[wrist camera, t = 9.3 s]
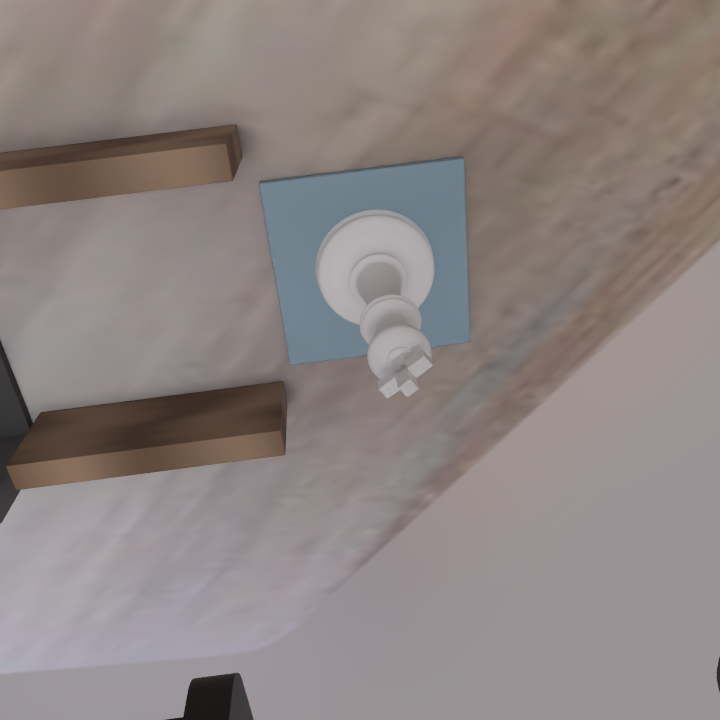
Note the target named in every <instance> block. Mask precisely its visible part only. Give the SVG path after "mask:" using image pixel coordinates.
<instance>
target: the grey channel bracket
mask: <svg viewBox="0 0 720 720" xmlns="http://www.w3.org/2000/svg"><path fill="white" fill-rule="evenodd" d="M32 425H33V423H32V421H31V418H30V416H29V413H28V411H27V408H26V406H25V403H24V400H23V398H22V395H21V393H20V390H19V388H18V385H17V383H16V380H15V378H14V375H13V373H12V370H11V368H10V365H9V363H8V360H7V358H6V355H5V353H4V350H3V348H2V345H1V342H0V524H1V523H2V521H3V519H4V518H5V516H6V514H7V512H8V511H9V509H10V507H11V506H12V504H13V502H14V500H15V499H16V497H17V495H18V493H19V492H20V490H16V489H15V486H14V484H13V482H12V479H11V477H10V475H9V473H8V470H7V468H6V465H7V464H8V462H9V461H10V459H11V458H12V456H13V454H14V453H15V451H16V450H17V448H18V447H19V445H20V444H21V442H22V440H23V439H24V437H25V436H26V434H27V433H28V431H29V430H30V428H31V426H32Z"/></svg>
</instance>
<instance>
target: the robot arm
mask: <svg viewBox="0 0 720 720" xmlns="http://www.w3.org/2000/svg"><path fill="white" fill-rule="evenodd" d="M717 682H718V686H719V691H720V658H719V662H718V667H717ZM167 720H253V716H252V713H251V709H250V706H249V702H248V699H247V695H246V692H245V689H244V685H243V682H242V679H241V676H240V674H239V673H232V674H225V675H217V676H209V677H202V678H195V679H193V680H192V681H191V683H190V686H189V689H188V695H187V700H186V706H185V712H184V717H183V718H175V719H167Z"/></svg>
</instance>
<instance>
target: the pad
mask: <svg viewBox="0 0 720 720" xmlns="http://www.w3.org/2000/svg"><path fill="white" fill-rule="evenodd" d="M259 187H260V192H261V198H262V204H263V210H264V215H265V221H266V227H267V233H268V238H269V244H270V250H271V256H272V261H273V267H274V273H275V279H276V284H277V290H278V296H279V302H280V307H281V313H282V319H283V325H284V330H285V336H286V342H287V348H288V353H289V359H290V365H295V364H303V363H310V362H318V361H326V360H334V359H342V358H349V357H357V356H365V355H367V352H368V347H369V344H368V343H367V342H366V341H365V340H364V338H363V337H362V335H361V332H360V327H359V325H358V324H355V323H352V322H350V321H347V320H345V319H344V318H342V317H341V316H339V315H338V314H337V313H335V312H334V311H333V310H332V309H331V307H330V306H329V305H328V304H327V302H326V301H325V299H324V297H323V295H322V293H321V291H320V289H319V287H318V283H317V280H316V273H315V264H316V257H317V253H318V250H319V247H320V245H321V243H322V241H323V239H324V238H325V236H326V235H327V233H328V232H329V231H330V230H331V229H332V228H333V227H334V226H335V225H336V224H337V223H338V222H340V221H341V220H343V219H344V218H346V217H348V216H350V215H352V214H355V213H358V212H361V211H365V210H374V209H380V210H388V211H393V212H396V213H399V214H401V215H403V216H405V217H407V218H409V219H410V220H412V221H413V222H414V223H415V224H417V225H418V226H419V227H420V228H421V230H422V231H423V232H424V234H425V235H426V237H427V238H428V240H429V243H430V245H431V248H432V251H433V257H434V279H433V283H432V286H431V289H430V291H429V293H428V295H427V297H426V299H425V300H424V302H423V303H422V304H421V305H420V307H419V308H418V309H419V311H420V314H421V320H422V323H421V329H420V331H421V332H422V333H423V334H424V335H425V336H426V337H427V339H428V341H429V343H430V346H431V347H435V346H443V345H450V344H458V343H466V342H470V335H469V303H468V271H467V239H466V206H465V174H464V158H463V157H454V158H446V159H438V160H430V161H422V162H414V163H405V164H397V165H389V166H381V167H373V168H365V169H357V170H349V171H341V172H332V173H324V174H316V175H308V176H300V177H292V178H284V179H276V180H267V181H260V182H259Z"/></svg>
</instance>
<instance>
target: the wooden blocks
mask: <svg viewBox="0 0 720 720" xmlns="http://www.w3.org/2000/svg"><path fill="white" fill-rule="evenodd" d="M241 159H242V154H241V148H240V143H239V137H238V132H237V126H236V125H228V126H219V127H211V128H203V129H195V130H187V131H178V132H170V133H162V134H154V135H145V136H137V137H129V138H121V139H112V140H104V141H96V142H88V143H79V144H71V145H63V146H55V147H46V148H38V149H30V150H22V151H14V152H5V153H0V209H7V208H15V207H23V206H31V205H40V204H48V203H56V202H64V201H72V200H80V199H88V198H97V197H105V196H113V195H121V194H129V193H137V192H145V191H153V190H162V189H170V188H178V187H186V186H194V185H202V184H210V183H218V182H227V181H233V179H234V176H235V174H236V171H237V169H238V166H239V164H240V161H241ZM286 421H287V401H286V395H285V390H284V384H283V382H276V383H268V384H261V385H253V386H245V387H237V388H230V389H222V390H214V391H206V392H199V393H191V394H183V395H175V396H168V397H160V398H152V399H144V400H137V401H129V402H121V403H113V404H106V405H98V406H90V407H82V408H75V409H67V410H59V411H51V412H44V413H40V414H39V415H38V417H37V419H36V420H35V422H34V423H33V425H32V426H31V428H30V430H29V431H28V433H27V434H26V436H25V437H24V439H23V440H22V442H21V444H20V445H19V447H18V448H17V450H16V451H15V453H14V454H13V456H12V458H11V459H10V461H9V462H8V464H7V465H6V468H7V470H8V473H9V475H10V477H11V479H12V482H13V484H14V486H15V489H16V490H21V489H29V488H36V487H44V486H52V485H59V484H67V483H74V482H82V481H90V480H97V479H105V478H113V477H120V476H128V475H135V474H143V473H151V472H158V471H166V470H174V469H181V468H189V467H196V466H204V465H212V464H219V463H227V462H235V461H242V460H250V459H257V458H265V457H273V456H280V455H285V449H286Z"/></svg>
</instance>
